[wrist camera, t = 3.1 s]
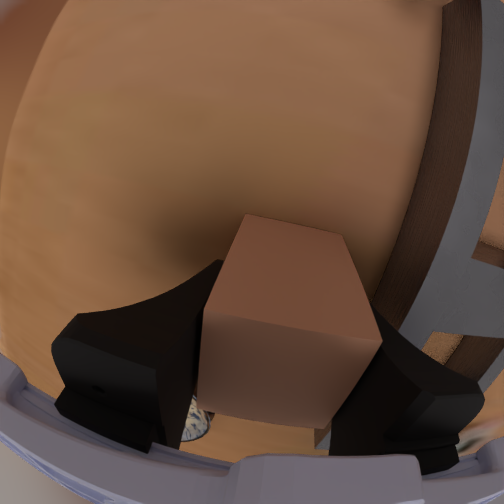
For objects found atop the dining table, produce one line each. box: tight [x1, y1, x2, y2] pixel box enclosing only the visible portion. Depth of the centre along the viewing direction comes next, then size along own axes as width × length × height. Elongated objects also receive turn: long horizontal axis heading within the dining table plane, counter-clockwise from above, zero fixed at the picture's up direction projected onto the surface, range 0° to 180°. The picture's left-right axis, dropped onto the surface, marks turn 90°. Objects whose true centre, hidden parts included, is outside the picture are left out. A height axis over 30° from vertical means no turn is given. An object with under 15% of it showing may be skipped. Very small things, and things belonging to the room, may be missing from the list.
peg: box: [196, 214, 383, 429], centre depth 10 cm, size 4×4×7 cm
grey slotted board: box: [314, 0, 504, 450], centre depth 11 cm, size 26×10×4 cm, turn 170°
